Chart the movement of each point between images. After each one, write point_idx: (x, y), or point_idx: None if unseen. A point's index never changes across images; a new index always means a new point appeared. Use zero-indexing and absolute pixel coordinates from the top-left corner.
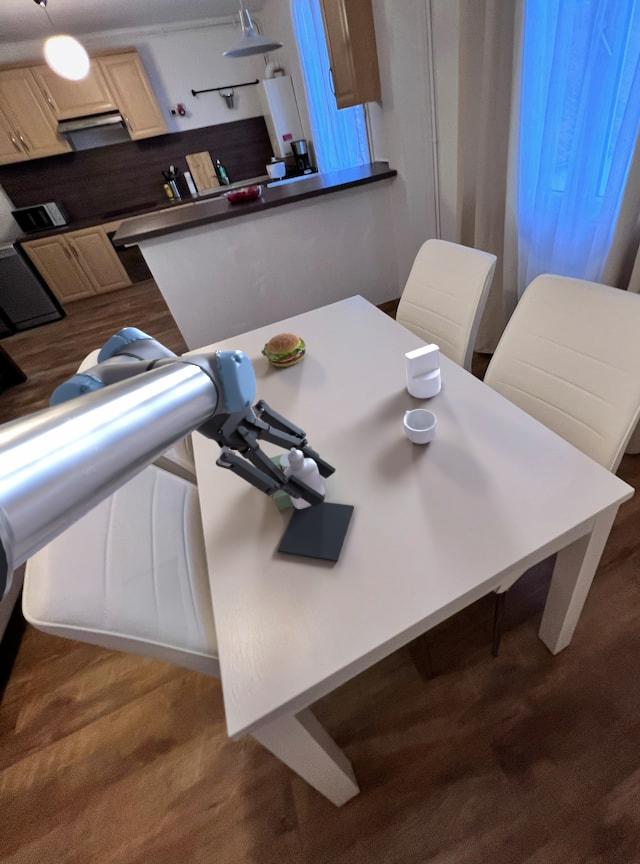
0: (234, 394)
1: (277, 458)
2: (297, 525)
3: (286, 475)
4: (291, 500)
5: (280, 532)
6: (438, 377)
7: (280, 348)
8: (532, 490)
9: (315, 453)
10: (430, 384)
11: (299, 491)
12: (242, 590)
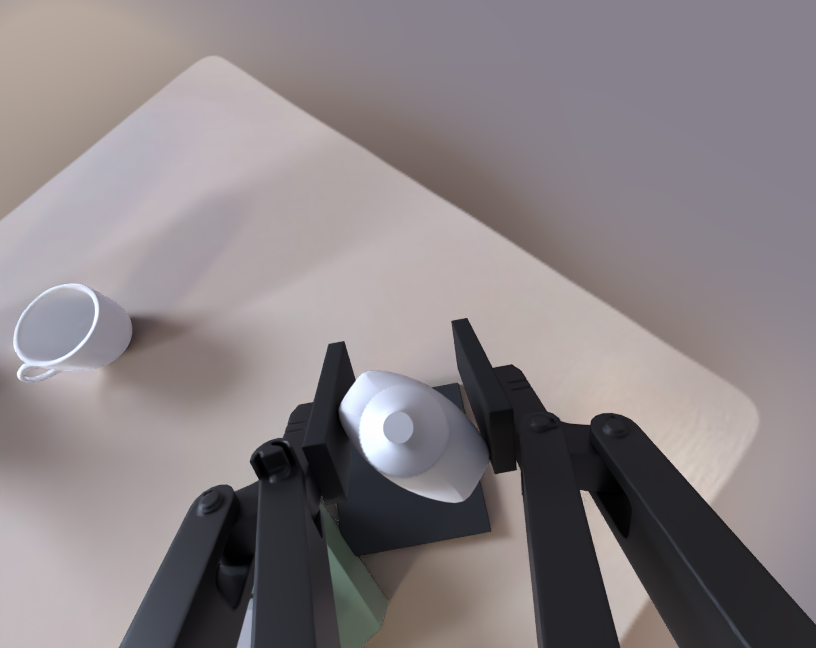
0: None
1: None
2: (415, 517)
3: (475, 465)
4: (359, 574)
5: (442, 555)
6: None
7: None
8: (228, 138)
9: (297, 419)
10: None
11: (508, 375)
12: (601, 560)
